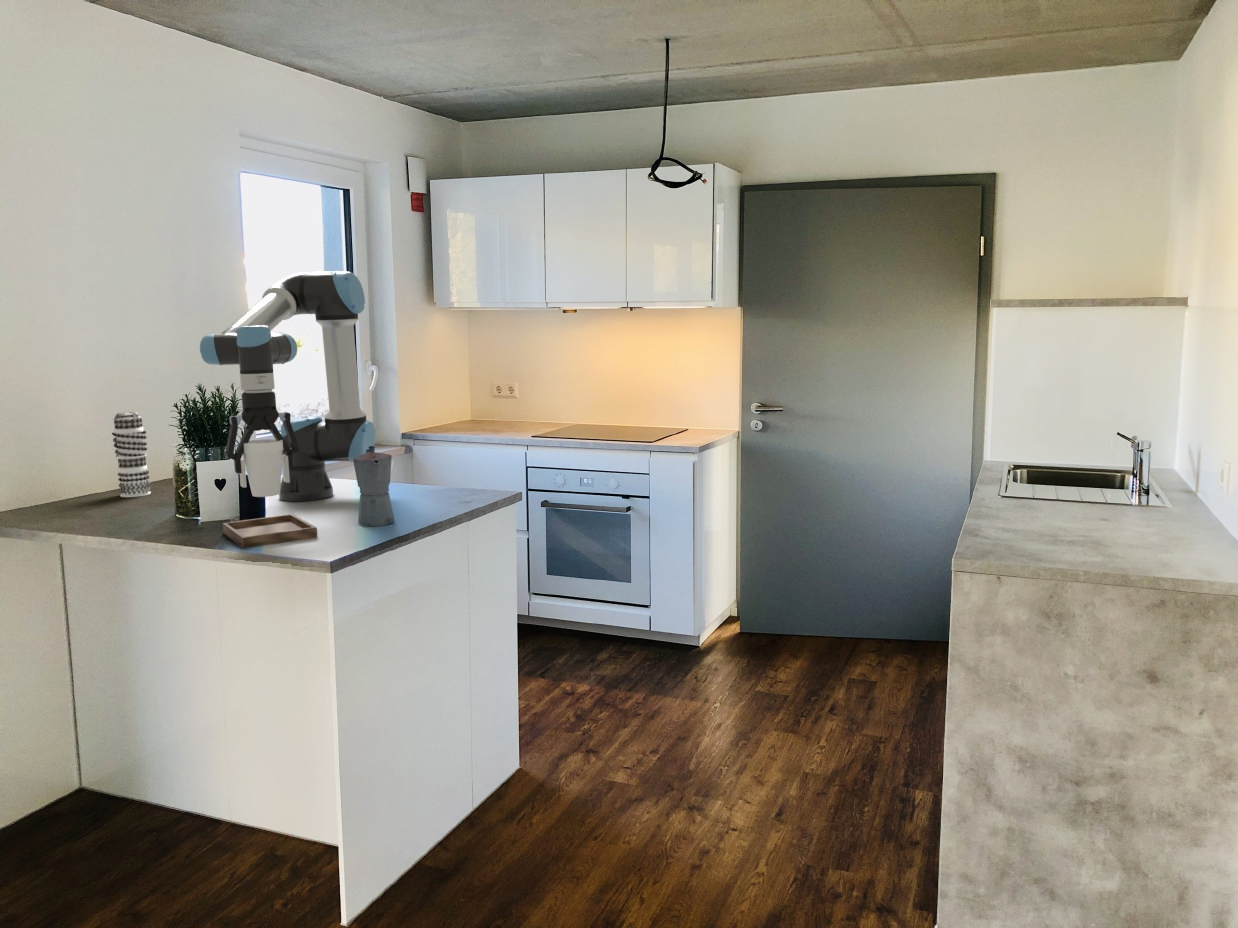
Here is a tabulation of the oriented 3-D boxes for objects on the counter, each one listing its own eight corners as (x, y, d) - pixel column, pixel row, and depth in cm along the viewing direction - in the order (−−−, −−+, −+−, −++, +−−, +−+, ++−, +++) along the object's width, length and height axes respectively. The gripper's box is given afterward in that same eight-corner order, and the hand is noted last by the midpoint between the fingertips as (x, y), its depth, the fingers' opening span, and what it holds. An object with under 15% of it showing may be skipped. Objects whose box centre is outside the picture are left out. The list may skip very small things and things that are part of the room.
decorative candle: (148, 496, 288) (140, 413, 284) (114, 498, 286) (106, 415, 282) (155, 491, 297) (147, 410, 293) (123, 492, 295) (114, 412, 291)
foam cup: (272, 498, 225) (268, 443, 224) (237, 497, 227) (232, 443, 225) (294, 491, 235) (290, 438, 233) (259, 490, 237) (255, 438, 235)
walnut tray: (293, 523, 246) (292, 513, 245) (317, 537, 229) (316, 527, 229) (223, 533, 236) (222, 523, 236) (243, 548, 220) (242, 537, 219)
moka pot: (363, 530, 236) (358, 450, 232) (349, 519, 249) (344, 443, 246) (401, 526, 240) (397, 447, 237) (386, 515, 253) (381, 440, 250)
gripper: (212, 395, 218) (220, 491, 221) (309, 389, 230) (316, 481, 234) (205, 393, 224) (213, 487, 227) (300, 387, 236) (306, 477, 240)
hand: (265, 484), depth 231 cm, fingers closed on foam cup, 9 cm apart
